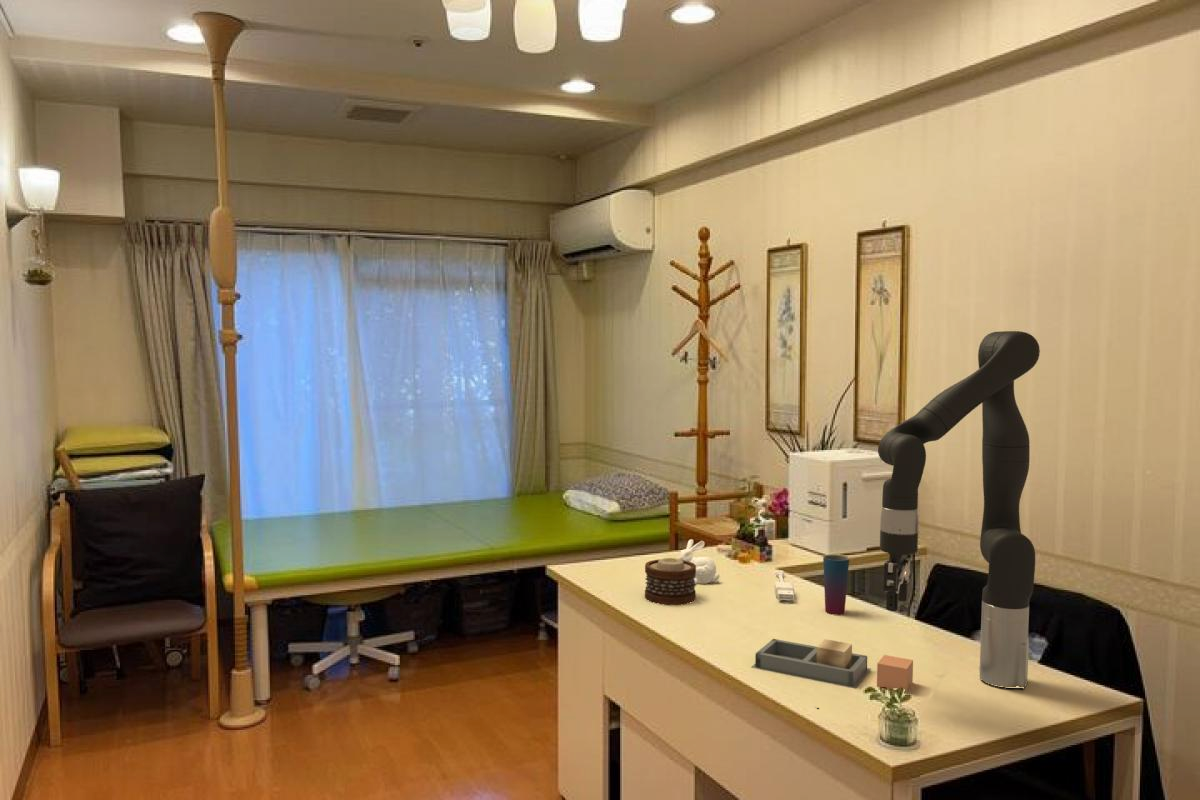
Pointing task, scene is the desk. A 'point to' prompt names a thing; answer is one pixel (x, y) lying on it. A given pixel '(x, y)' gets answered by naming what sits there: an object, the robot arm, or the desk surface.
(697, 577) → the rabbit
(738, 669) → the desk surface
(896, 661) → the terracotta cube
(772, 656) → the pocket tray
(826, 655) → the oak cube
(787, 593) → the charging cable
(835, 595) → the cup
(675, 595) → the spiked roller
